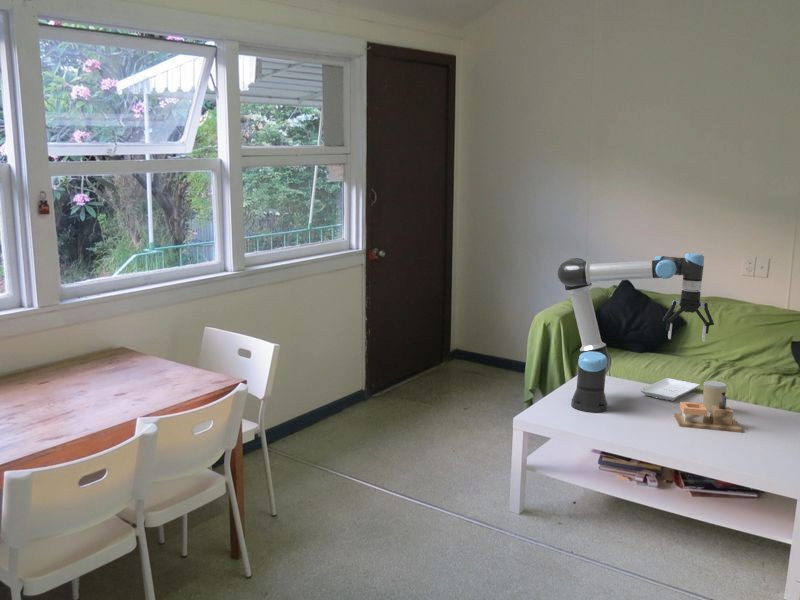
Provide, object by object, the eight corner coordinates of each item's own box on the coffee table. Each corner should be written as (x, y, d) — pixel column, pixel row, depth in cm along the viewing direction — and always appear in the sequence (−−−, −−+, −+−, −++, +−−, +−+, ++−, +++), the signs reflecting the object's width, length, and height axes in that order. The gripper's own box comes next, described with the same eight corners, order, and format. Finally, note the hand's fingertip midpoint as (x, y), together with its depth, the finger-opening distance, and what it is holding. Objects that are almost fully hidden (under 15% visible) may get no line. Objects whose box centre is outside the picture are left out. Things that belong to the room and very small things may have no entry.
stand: (679, 426, 297) (682, 397, 295) (674, 415, 310) (676, 387, 308) (742, 432, 292) (746, 403, 290) (734, 421, 305) (737, 393, 303)
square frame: (683, 413, 298) (684, 408, 298) (679, 407, 307) (680, 401, 306) (706, 415, 296) (707, 410, 296) (702, 409, 305) (703, 403, 304)
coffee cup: (726, 414, 315) (729, 387, 313) (703, 412, 317) (706, 385, 315) (721, 407, 324) (724, 381, 322) (698, 405, 326) (701, 379, 324)
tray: (638, 396, 338) (638, 389, 337) (665, 383, 361) (666, 377, 360) (674, 405, 327) (675, 397, 326) (700, 391, 350) (701, 384, 349)
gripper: (661, 289, 306) (656, 339, 310) (724, 293, 301) (719, 343, 305) (658, 287, 314) (654, 335, 317) (720, 290, 309) (715, 340, 312)
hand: (686, 339), depth 311 cm, fingers open, 13 cm apart
